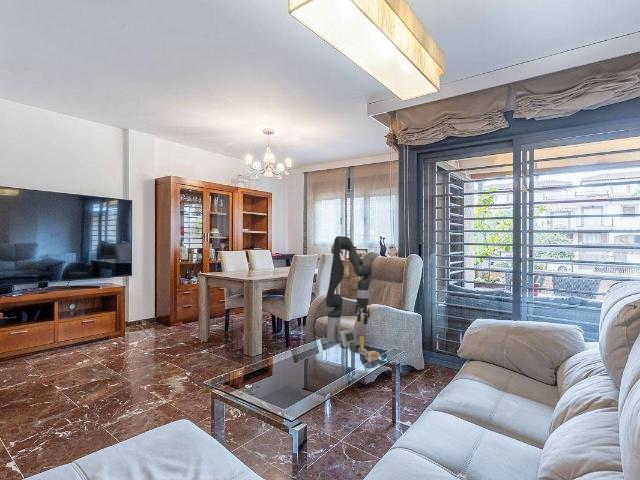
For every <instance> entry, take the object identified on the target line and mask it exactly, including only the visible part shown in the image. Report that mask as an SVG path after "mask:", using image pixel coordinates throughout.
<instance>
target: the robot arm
mask: <svg viewBox="0 0 640 480" xmlns="http://www.w3.org/2000/svg"><path fill="white" fill-rule="evenodd" d="M333 241H334V242H333V248H332V249H333V251H332V252H333V253H332V263H331V267H330V268H331V269H330V277H329V282H328V283H329V284H328V288H327V293H326V298H325V305H326V306H327V307H328V308H333V309H332V310H331V311H329V312H327V331H326V333H327V335H326V341H327V342H329V343H340V340H341V337H340V332H341V322H342V321H341V319H342V316H341V315H342V311H343V296H342V295H341V294H339V293H335V292H336V289H337V288H338V286H339V285H340V283H341V282H342V280H343V278H344V273H345V266H344V263H343V261H342V258H341V250H345V251H347V252H348V261H349V263H350V264H351V265H352V267H353V270H354V274H355V275H356V276H357V277H360V278H361V277H362V279H359V280H358V281H357V283H356V284H357V287H356V288H357V289H356V290H357V291H356V305H355V315H356V317H357V318H356V321H357V323H360V322H361V321H362V320H361V319H362V316H363V325H368V319H369V318H370V307H368V305H369V303H370V302H369V301H370V300H369V298H370V292H369V285H370V284H369V283H370V281H371V280H370V279H371V277H372V273H373V272H372V267H371V266H370V265H366V264H365V265H364V261H363V260H362V258H361V256H359V254H358V253H357V250H356V249H355V246H354V244H353V242H352V240H351V238H350V237H348V236H342V235H337V236H335V238H334V240H333Z"/></svg>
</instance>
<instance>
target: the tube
mask: <svg viewBox="0 0 640 480" xmlns="http://www.w3.org/2000/svg"><path fill="white" fill-rule="evenodd" d="M358 342H359V346H356V353H358V354H359V355H362V356H365V352H368V349H366V348H365V336H364V335H359V337H358Z"/></svg>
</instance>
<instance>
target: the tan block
mask: <svg viewBox="0 0 640 480" xmlns="http://www.w3.org/2000/svg"><path fill="white" fill-rule="evenodd" d="M377 359H379V360H380V352H378V351H376V350H372V351H371V350H369V351H367V352H365V355H364V360H366V361H367V362H375V361H374V360H377Z"/></svg>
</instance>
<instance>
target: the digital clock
mask: <svg viewBox="0 0 640 480" xmlns="http://www.w3.org/2000/svg"><path fill="white" fill-rule="evenodd" d="M350 342H359V337H358V335H357V330H356V329H355V328H349V329H344V330H340V342H339V346H340V347H342V348H344V349H346V348H347V349H348V348H350Z"/></svg>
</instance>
